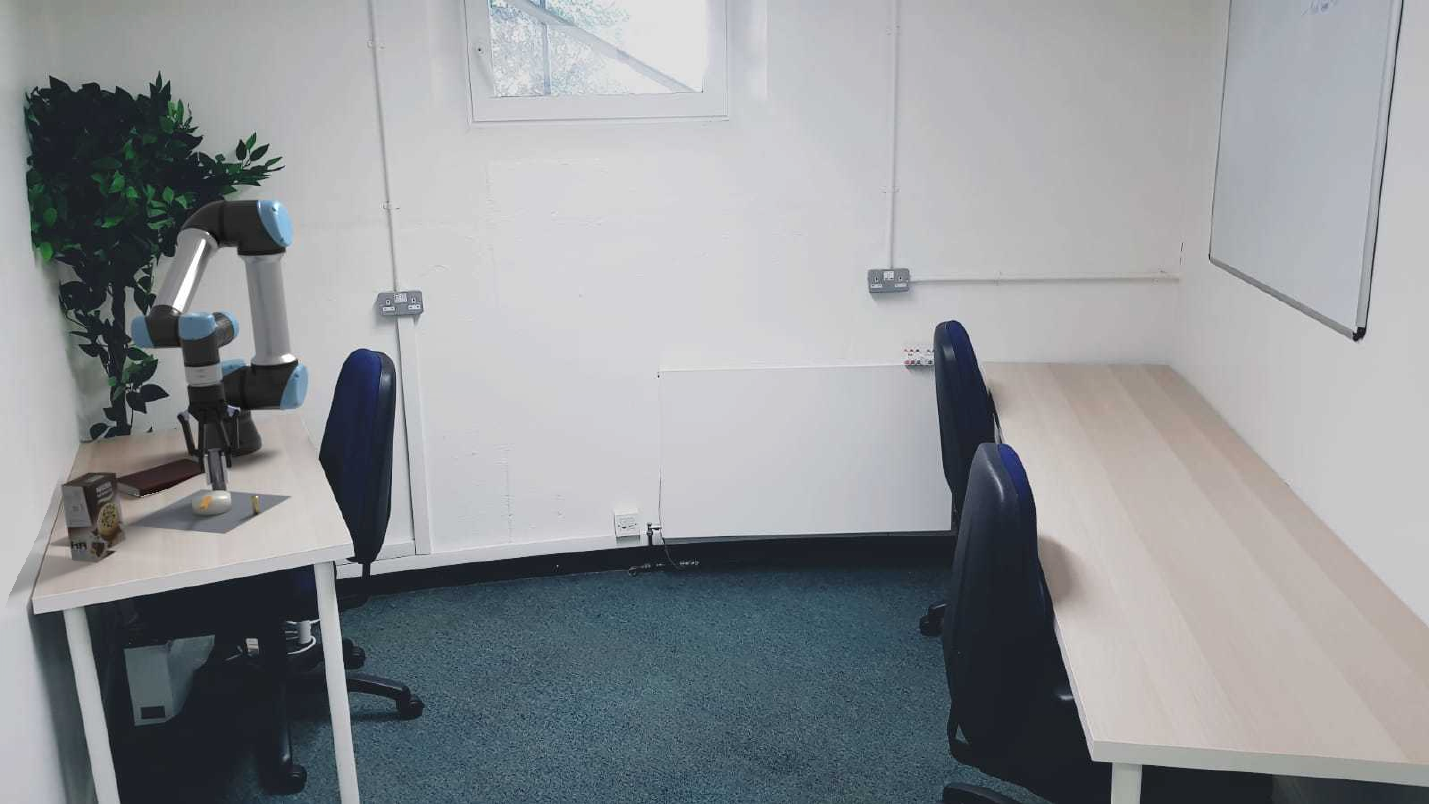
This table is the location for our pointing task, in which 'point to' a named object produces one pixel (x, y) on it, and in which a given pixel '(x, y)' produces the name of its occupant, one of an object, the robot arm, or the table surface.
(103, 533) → the cookie box
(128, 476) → the book
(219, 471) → the white grey handled piece
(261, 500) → the dial base plate
